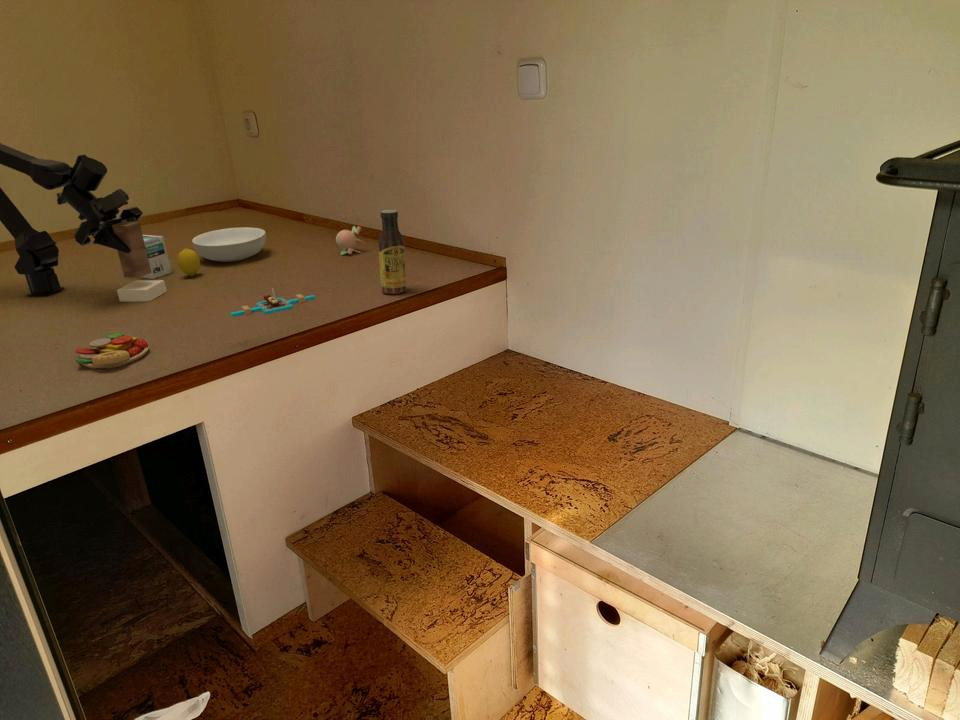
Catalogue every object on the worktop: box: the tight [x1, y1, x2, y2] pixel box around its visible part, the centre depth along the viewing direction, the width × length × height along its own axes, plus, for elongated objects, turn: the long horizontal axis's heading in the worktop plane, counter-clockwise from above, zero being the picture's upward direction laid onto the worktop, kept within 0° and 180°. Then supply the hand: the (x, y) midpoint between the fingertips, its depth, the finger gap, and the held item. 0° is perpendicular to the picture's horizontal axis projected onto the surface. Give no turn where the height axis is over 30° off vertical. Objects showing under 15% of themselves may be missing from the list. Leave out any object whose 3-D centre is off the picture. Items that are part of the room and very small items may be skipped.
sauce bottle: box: [378, 209, 407, 295], centre depth 167 cm, size 7×6×20 cm
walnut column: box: [112, 221, 152, 279], centre depth 172 cm, size 4×4×13 cm
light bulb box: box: [140, 234, 172, 280], centre depth 193 cm, size 11×7×11 cm, turn 65°
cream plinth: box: [116, 279, 167, 302], centre depth 176 cm, size 8×8×3 cm
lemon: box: [177, 247, 201, 277], centre depth 190 cm, size 6×6×8 cm
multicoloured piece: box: [230, 287, 316, 317], centre depth 164 cm, size 20×5×9 cm
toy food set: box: [75, 332, 150, 369], centre depth 139 cm, size 13×13×3 cm
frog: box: [335, 225, 366, 256], centre depth 206 cm, size 10×8×8 cm
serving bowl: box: [191, 227, 267, 263], centre depth 207 cm, size 21×21×7 cm
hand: (136, 249), depth 171 cm, fingers closed on walnut column, 4 cm apart
